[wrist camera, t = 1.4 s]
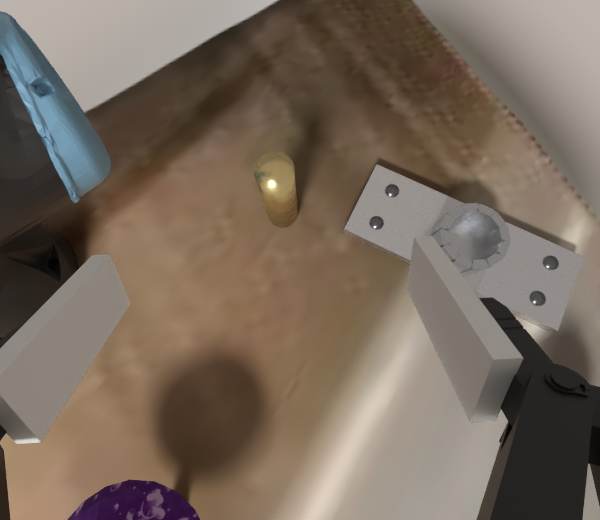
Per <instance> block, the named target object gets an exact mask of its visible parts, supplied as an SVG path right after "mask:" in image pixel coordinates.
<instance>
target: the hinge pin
mask: <svg viewBox="0 0 600 520" xmlns="http://www.w3.org/2000/svg"><path fill="white" fill-rule="evenodd" d="M254 176H255V179H256V182H257V184H258V187H259V190H260V193H261V196H262V199H263V202H264V205H265V208H266V211H267V214H268V217H269V219H270V221H271V222H272V223H273V224H274V225H276V226H278V227H288V226H290V225H292V224H293V223H294V222H295V221H296V219H297V216H298V208H297V195H296V182H295V170H294V164H293V162H292V160H291V159H290V157H288V156H287V155H286V154H284V153H282V152H277V151H273V152H268V153H265V154H263V155H262V156H261V157H259V159H258V160H257V161H256V163H255V166H254Z"/></svg>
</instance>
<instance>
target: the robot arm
mask: <svg viewBox="0 0 600 520" xmlns="http://www.w3.org/2000/svg"><path fill="white" fill-rule="evenodd" d="M110 169H111V160H110V157H109V154H108V152H107V150H106V148H105V146H104V144H103V142H102V141H101V139H100V137H99V136H98V134H97V132H96V131H95V129H94V127H93V126H92V124H91V123H90V121H89V120H88V118H87V116H86V115H85V113H84V112H83V110H82V109H81V107H80V106H79V104H78V103H77V101H76V100H75V98H74V97H73V95H72V94H71V92H70V91H69V90H68V88H67V87H66V85H65V84H64V82H63V81H62V79H61V78H60V77H59V75H58V74H57V72H56V71H55V70H54V68H53V67H52V66H51V64H50V63H49V61H48V60H47V59H46V57H45V56H44V54H43V53H42V52H41V50H40V49H39V48H38V47H37V45H36V44H35V43H34V41H33V40H32V39H31V38H30V36H29V35H28V34H27V33H26V31H25V30H23V29H22V28H21V27H20V25H19V24H18V23H17V22H16V20H15V19H14V18H13V17H12V16H11V15H9V14H7V13H5V12H0V440H1V439H2V438H3V436H4V435H5V434H6V433H7V434H8V435H9V436H10V437H11V438H12V439H13V440H14V441H15V442H16V444H18V443H39V442H42V440H43V439H44V437H45V435H46V434H47V432H48V431H49V429H50V428H51V426H52V425H53V423H54V422H55V420H56V418H57V417H58V415H59V414H60V412H61V411H62V409H63V408H64V406H65V404H66V403H67V401H68V400H69V398H70V397H71V395H72V394H73V392H74V391H75V389H76V387H77V386H78V384H79V383H80V381H81V380H82V378H83V377H84V375H85V373H86V372H87V370H88V369H89V367H90V366H91V364H92V363H93V361H94V360H95V358H96V356H97V355H98V353H99V352H100V350H101V349H102V347H103V346H104V344H105V343H106V341H107V339H108V338H109V336H110V335H111V333H112V332H113V330H114V329H115V327H116V325H117V324H118V322H119V321H120V319H121V318H122V316H123V315H124V313H125V312H126V310H127V308H128V307H129V305H130V304H131V303H130V301H129V298H128V296H127V294H126V291H125V289H124V287H123V284H122V282H121V279H120V277H119V275H118V272H117V270H116V268H115V265H114V263H113V261H112V258H111V256H110V254H105V255H92V256H91V257H90V258H89V259H88V260H87V261H86V262H85V263H84V264H83V265H82V266H81V267H80V268H79V269H78V270H77V263H76V259H75V256H74V254H73V252H72V250H71V248H70V246H69V245H68V243H67V242H66V241H65V240H64V239H63V237H61V236H60V235H59V234H58V233H56V232H55V231H53V230H52V229H50V228H48V227H45V226H43V225H40V224H39V223H41V222H42V221H44V220H46V219H47V218H49V217H51V216H52V215H54V214H56V213H57V212H59V211H61V210H62V209H64V208H66V207H67V206H69V205H71V204H72V203H77V202H78V201H79V200H80V197H81V196H83V195H84V194H86V193H87V192H88V191H90V190H91V189H93V188H94V187H96V186H97V185H99V184H100V183H102V182H103V181H104V180H105V179H106V178H107V177H108V175H109V173H110ZM407 290H408V292H409V294H410V297H411V299H412V301H413V303H414V305H415V307H416V309H417V311H418V313H419V315H420V318H421V320H422V322H423V324H424V326H425V328H426V330H427V332H428V334H429V337H430V339H431V341H432V343H433V345H434V347H435V349H436V351H437V353H438V356H439V358H440V360H441V362H442V364H443V366H444V368H445V370H446V372H447V375H448V377H449V379H450V381H451V383H452V385H453V387H454V389H455V391H456V393H457V396H458V398H459V400H460V402H461V404H462V406H463V408H464V410H465V412H466V415H467V417H468V419H469V421H470V422H483V421H496V419H497V417H498V415H499V412H500V410H501V409H502V411H503V413H504V414H505V416H506V418H507V420H508V423H507V426H506V428H505V430H504V432H503V434H502V436H501V438H500V440H499V442H501V444H500V447H499V450H498V453H497V457H496V460H495V463H494V466H493V469H492V473H491V476H490V479H489V482H488V485H487V488H486V492H485V495H484V498H483V501H482V504H481V508H480V511H479V514H478V517H477V520H582V517H583V507H584V497H585V487H586V477H587V467H588V463H589V464H590V466H591V471H592V475H593V479H594V484H595V488H596V492H597V497H598V501H599V505H600V387H597V386H593V385H589V383H588V382H587V381H586V380H585V379H584V378H583V377H581V376H580V375H579V374H578V373H576V372H574V371H572V370H570V369H568V368H566V367H564V366H560V365H557V364H554V363H553V362H552V361H551V360H550V359H549V357H548V356H547V355H546V354H545V353H544V351H543V350H542V349H541V348H540V347H539V345H538V344H537V343H536V342H535V340H534V339H533V338H532V337H531V336H530V334H529V333H528V332H527V331H526V330H525V329H523V326H522V325H521V324H520V322H519V321H518V320H516V319H515V316H514V315H513V314H512V313H511V312H510V310H509V309H508V308H507V307H506V306H505V305H503V304H502V303H500V302H499V301H497V300H496V299H494V298H493V297H490V298H478V296H477V295H476V294H475V292H474V291H473V290H472V288H471V287H470V286H469V284H468V283H467V282H466V280H465V279H464V278H463V276H462V275H461V274H460V272H459V271H458V270H457V268H456V267H455V266H454V264H453V263H452V262H451V260H450V259H449V258H448V256H447V255H446V254H445V252H444V251H443V250H442V248H441V247H440V246H439V244H438V243H437V242H436V240H435V239H434V238H433V236H421V237H414V242H413V248H412V255H411V262H410V269H409V276H408V283H407ZM0 520H10V512H9V501H8V491H7V480H6V469H5V459H4V450H3V448H2V446H1V445H0Z"/></svg>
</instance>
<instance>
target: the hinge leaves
mask: <svg viewBox="0 0 600 520" xmlns="http://www.w3.org/2000/svg"><path fill="white" fill-rule="evenodd" d="M494 211H495V210H494V209H492V208H489V207H487V206H485V205H483V204H480V203H479V204H478V203H466V204H465V203H463V202H460V201H458V200H456V199H454V198H451V197H449V196H447V195H445V194H442V193H440V192H438V191H436V190H433V189H431V188H429V187H427V186H424V185H422V184H420V183H418V182H416V181H413V180H411V179H409V178H407V177H404V176H402V175H400V174H398V173H395V172H393V171H391V170H389V169H386V168H384V167H382V166H380V165H376V167H375V169H374V171H373V173H372V175H371V177H370V179H369V181H368V183H367V185H366V186H365V188H364V190H363V192H362V194H361V196H360V198H359V200H358V202H357V204H356V206H355V208H354V210H353V212H352V214H351V216H350V218H349V220H348V222H347V224H346V226H345V228H344V231H343V233H344V234H346V235H349V236H351V237H353V238H355V239H357V240H359V241H361V242H363V243H365V244H367V245H369V246H372V247H374V248H376V249H378V250H380V251H382V252H384V253H386V254H388V255H390V256H393V257H395V258H397V259H399V260H401V261H403V262H405V263H407V264H409V265H410V262H411V255H412V248H413V242H414V237H421V236H433V238H434V239H435V240H436V242H437V243H438V244H439V246H440V247H441V248H442V250H443V251H444V252H445V254H446V255H447V256H448V258H449V259H450V260H451V262H452V263H453V264H454V266H455V267H456V268H457V270H458V271H459V272H460V274H461V275H462V276H463V278H464V279H465V280H466V282H467V283H468V284H469V286H470V287H471V288H472V290H473V291H474V292H475V294H476V295H477V296H478V298H490V297H493V298H494V299H496V300H497V301H499V302H500V303H502V304H503V305H505V306H506V307H507V308H508V309H509V310H510V312H511V313H512V314H514V315H516V316H518V317H520V318H522V319H524V320H526V321H529V322H531V323H533V324H535V325H537V326H539V327H541V328H543V329H545V330H547V331H558V329H559V326H560V324H561V321H562V318H563V315H564V312H565V309H566V306H567V304H568V301H569V298H570V295H571V292H572V289H573V286H574V284H575V281H576V278H577V275H578V272H579V269H580V266H581V264H582V261H583V258H584V256H581V255H579V254H577V253H575V252H572V251H570V250H568V249H566V248H563V247H561V246H559V245H557V244H554V243H552V242H550V241H548V240H545V239H543V238H541V237H539V236H536V235H534V234H532V233H530V232H528V231H525V230H523V229H521V228H519V227H516V226H514V225H512V224H510V223H507V222H505V221H504V220H503V218H502V217H501V216H500V215H499V214H498V212H497V211H495V212H494Z"/></svg>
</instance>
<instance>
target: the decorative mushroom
mask: <svg viewBox="0 0 600 520" xmlns="http://www.w3.org/2000/svg"><path fill="white" fill-rule="evenodd" d="M68 520H200V519H199V517H198V515H197V513H196V511H195V509H194V508H193V507H192V506H191V505H190V504H189V503H188V502H187V501H186V500H185V499H184V498H183V497H182V496H181V495H180V494H179V493H178V492H176V491H174V490H172V489H170V488H168V487H165V486H163V485H161V484H159V483H157V482H154V481H140V480H128V481H124V482H121V483H117V484H114V485H110V486H107V487H105V488H103V489H102V490H100V491H99V492H97V493H96V494H94V495H93V496H91V497H90V498H88V499H87V500H85V501H84V502H83V503H82V504H81V505H80V506H79V507H78V509H77V510H76V511H75V512H74V513H73V514H72V515H71V516H70V518H69V519H68Z"/></svg>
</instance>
